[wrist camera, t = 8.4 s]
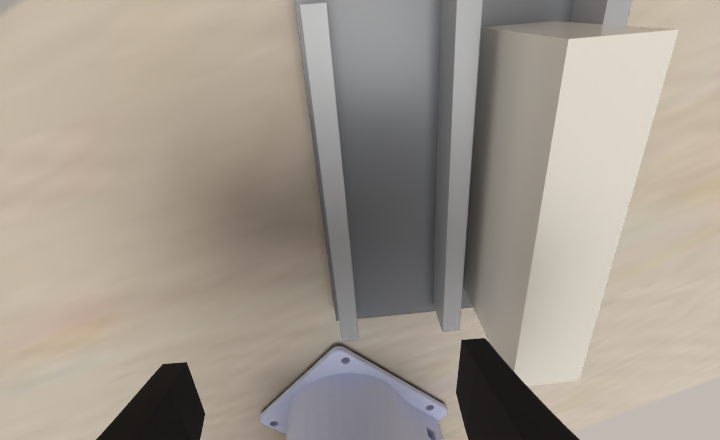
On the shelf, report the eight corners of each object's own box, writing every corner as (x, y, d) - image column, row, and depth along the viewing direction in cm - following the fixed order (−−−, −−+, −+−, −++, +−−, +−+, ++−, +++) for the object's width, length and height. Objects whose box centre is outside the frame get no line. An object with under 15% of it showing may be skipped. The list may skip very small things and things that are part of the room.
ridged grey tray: (535, 288, 22) (563, 327, 19) (335, 307, 21) (336, 350, 19) (593, -34, 15) (651, -43, 12) (295, -10, 14) (287, -14, 12)
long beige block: (514, 282, 20) (579, 380, 15) (464, 288, 20) (511, 387, 15) (551, 20, 14) (679, 29, 9) (481, 27, 14) (568, 39, 9)
